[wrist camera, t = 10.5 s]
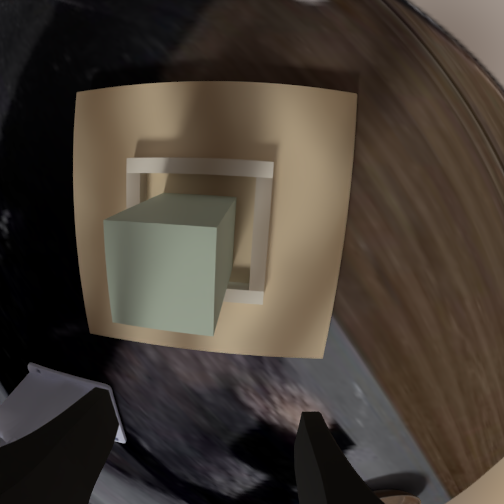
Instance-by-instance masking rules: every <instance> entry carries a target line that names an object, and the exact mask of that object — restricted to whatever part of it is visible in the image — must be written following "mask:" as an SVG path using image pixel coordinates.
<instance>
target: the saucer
mask: <svg viewBox="0 0 504 504" xmlns="http://www.w3.org/2000/svg"><path fill="white" fill-rule="evenodd" d="M373 492H374V493H375V494H376V495H377V496H378V497H379V498H380V499H381V500H382V501H383V502H384V503H385V504H421V500H420V499H419V498H418V497H416V496H415V495H413V494H411V493H408V492H405V491H400V490H394V489H384V490H376V491H373Z"/></svg>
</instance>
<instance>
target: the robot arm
mask: <svg viewBox="0 0 504 504" xmlns="http://www.w3.org/2000/svg"><path fill="white" fill-rule="evenodd" d="M28 369H29V372H30V373H29V374H28V375H27V376H26V377H25V378H24V379H23V380H22V382H21V383H20V384H19V385H18V386H17V387H16V388H15V390H14V391H13V392H12V393H11V394H10V395H9V397H8V398H7V399H6V400H5V401H4V402H3V404H2V405H1V406H0V504H88V503H89V499H90V496H91V493H92V490H93V488H94V485H95V483H96V481H97V479H98V477H99V475H100V472H101V470H102V468H103V466H104V464H105V462H106V460H107V458H108V455H109V453H110V451H111V449H112V447H113V444H114V441H116V442H120V443H125V442H126V440H127V439H126V436H125V433H124V430H123V426H122V423H121V420H120V417H119V413H118V410H117V406H116V403H115V399H114V396H113V392H112V389H111V387H110V386H109V385H107V384H104V383H100V382H96V381H92V380H88V379H84V378H80V377H77V376H73V375H69V374H66V373H63V372H59V371H56V370H53V369H49V368H46V367H43V366H40V365H37V364H34V363H29V364H28ZM294 459H295V475H296V482H297V489H298V496H299V504H385V503H384V502H383V501H382V500H381V499H380V498H379V497H378V496H377V495H376V494H375V493H374V492H373V491H372V490H371V489H370V488H369V487H368V486H367V484H366V483H365V482H364V481H363V480H362V479H361V477H360V476H359V475H358V474H357V472H356V471H355V470H354V468H353V467H352V466H351V464H350V463H349V461H348V460H347V458H346V457H345V455H344V454H343V452H342V451H341V449H340V448H339V446H338V444H337V443H336V441H335V439H334V438H333V436H332V434H331V432H330V431H329V429H328V427H327V425H326V423H325V421H324V419H323V417H322V414H321V413H320V412H302V414H301V419H300V423H299V428H298V432H297V436H296V440H295V444H294Z"/></svg>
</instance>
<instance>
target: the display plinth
mask: <svg viewBox="0 0 504 504" xmlns="http://www.w3.org/2000/svg"><path fill="white" fill-rule="evenodd" d="M356 111H357V94H356V93H350V92H344V91H337V90H330V89H323V88H315V87H307V86H297V85H287V84H275V83H259V82H236V81H188V82H164V83H149V84H137V85H127V86H118V87H110V88H102V89H95V90H88V91H82V92H77V96H76V108H75V122H74V145H73V190H74V214H75V229H76V241H77V251H78V260H79V269H80V277H81V284H82V291H83V297H84V303H85V309H86V315H87V320H88V325H89V330H90V333H91V334H97V335H102V336H107V337H112V338H118V339H124V340H130V341H136V342H142V343H149V344H155V345H162V346H169V347H177V348H185V349H193V350H202V351H211V352H221V353H232V354H244V355H258V356H274V357H294V358H323V354H324V349H325V345H326V340H327V335H328V330H329V325H330V320H331V315H332V309H333V304H334V299H335V293H336V287H337V281H338V275H339V269H340V263H341V256H342V250H343V243H344V236H345V228H346V221H347V213H348V204H349V196H350V187H351V177H352V166H353V155H354V142H355V128H356ZM162 193H179V194H198V195H215V196H230V197H237V199H236V215H235V231H234V248H233V266H232V271H231V275H230V279H229V282H228V286H227V289H226V293H225V296H224V300H223V304H222V307H221V311H220V314H219V318H218V322H217V325H216V329H215V332H214V336H205V335H196V334H188V333H180V332H172V331H165V330H158V329H151V328H144V327H138V326H132V325H126V324H120V323H114V322H112V315H111V307H110V299H109V290H108V281H107V271H106V259H105V244H104V225H103V220H105V219H107V218H109V217H111V216H113V215H115V214H117V213H119V212H122V211H124V210H126V209H128V208H130V207H133V206H135V205H137V204H139V203H141V202H144V201H146V200H148V199H151V198H153V197H155V196H157V195H160V194H162Z"/></svg>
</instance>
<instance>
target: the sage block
mask: <svg viewBox="0 0 504 504" xmlns="http://www.w3.org/2000/svg"><path fill="white" fill-rule="evenodd" d="M236 199H237V197H230V196H215V195H198V194H179V193H162V194H160V195H157V196H155V197H153V198H151V199H148V200H146V201H144V202H141V203H139V204H137V205H135V206H133V207H130V208H128V209H126V210H124V211H122V212H119V213H117V214H115V215H113V216H111V217H109V218H107V219H105V220H103V225H104V244H105V259H106V271H107V281H108V290H109V299H110V307H111V315H112V322H114V323H120V324H126V325H132V326H138V327H144V328H151V329H158V330H165V331H172V332H180V333H188V334H196V335H205V336H214V332H215V329H216V325H217V322H218V318H219V314H220V311H221V307H222V304H223V300H224V296H225V293H226V289H227V286H228V282H229V279H230V275H231V271H232V266H233V248H234V231H235V215H236Z"/></svg>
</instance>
